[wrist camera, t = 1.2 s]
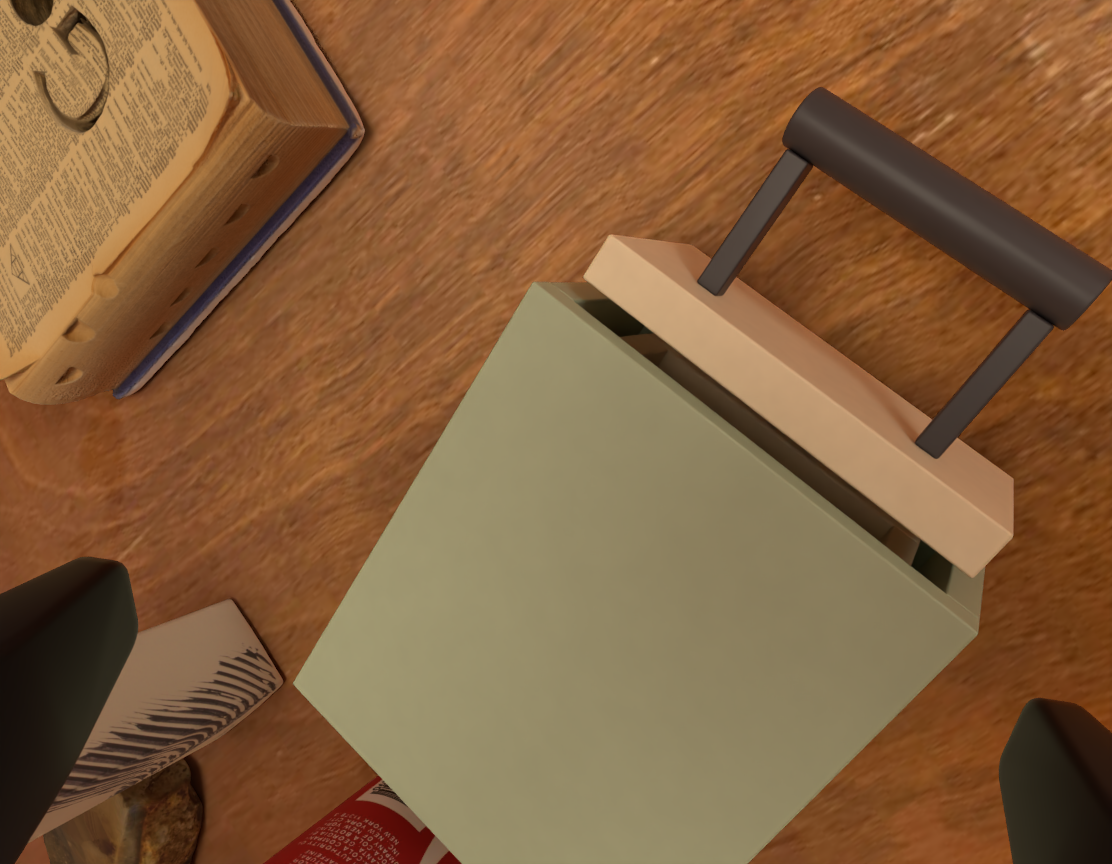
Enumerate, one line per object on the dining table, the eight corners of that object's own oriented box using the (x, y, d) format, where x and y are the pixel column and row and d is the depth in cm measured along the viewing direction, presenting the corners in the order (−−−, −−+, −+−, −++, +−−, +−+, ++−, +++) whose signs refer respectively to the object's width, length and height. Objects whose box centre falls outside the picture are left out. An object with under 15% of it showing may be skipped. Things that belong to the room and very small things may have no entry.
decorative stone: (189, 949, 42) (123, 1003, 39) (54, 851, 45) (-16, 893, 42) (215, 757, 39) (146, 798, 36) (70, 668, 42) (-4, 699, 39)
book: (380, 136, 30) (248, 105, 25) (130, 402, 38) (-12, 421, 33) (45, -394, 34) (-134, -519, 29) (-124, -53, 41) (-290, -103, 36)
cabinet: (652, 282, 27) (532, 280, 20) (989, 535, 24) (979, 633, 17) (442, 601, 32) (291, 683, 25) (695, 843, 29) (599, 1011, 22)
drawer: (797, 82, 23) (737, 25, 18) (1165, 317, 21) (1215, 328, 16) (478, 562, 30) (369, 619, 25) (723, 790, 27) (656, 906, 22)
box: (225, 737, 38) (-108, 926, 27) (171, 650, 39) (-173, 800, 28) (293, 678, 36) (-38, 858, 25) (235, 587, 37) (-113, 721, 25)
